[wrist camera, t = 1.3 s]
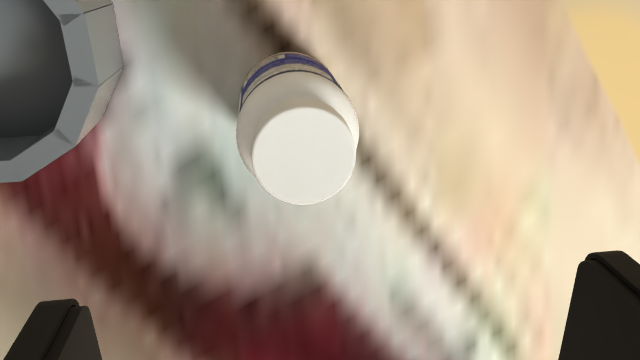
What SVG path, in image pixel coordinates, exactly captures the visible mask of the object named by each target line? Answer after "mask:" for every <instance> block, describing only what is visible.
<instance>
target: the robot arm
mask: <svg viewBox="0 0 640 360" xmlns="http://www.w3.org/2000/svg"><path fill="white" fill-rule="evenodd" d="M4 360H102V357H101V353H100V349H99V345H98V341H97V337H96V333H95V329H94V325H93V321H92V317H91V313H90V310H89V308H88V307H87V306H79V303H78V302H77V300H75V299H64V300H53V301H42V302H40V303H38V304H37V306H36V307H35V309H34V310H33V312H32V314H31V315H30V317H29V318H28V320H27V322H26V323H25V325H24V327H23V328H22V330H21V332H20V333H19V335H18V337H17V338H16V340H15V342H14V343H13V345H12V346H11V348H10V350H9V351H8V353H7V355H6V356H5V358H4ZM558 360H640V264H639V263H637V262H636V261H635V260H634V259H632V258H631V257H630V256H629V255H627V254H626V253H624V252H623V251H606V252H595V253H590V254H588V256H587V257H586V258H585V261H582V262H581V263H580V264H579V266H578V269H577V273H576V278H575V283H574V288H573V292H572V297H571V302H570V307H569V312H568V316H567V321H566V326H565V331H564V336H563V340H562V345H561V350H560V355H559V359H558Z"/></svg>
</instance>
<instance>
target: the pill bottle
mask: <svg viewBox="0 0 640 360" xmlns="http://www.w3.org/2000/svg"><path fill="white" fill-rule="evenodd" d="M236 138H237V145H238V150H239V153H240V156H241V158H242V160H243V162H244V164H245V165H246V167H247V168H248V170H249V171H250V172H251V173H252V174H253V175H254V176H255V177H256V178H257V180H258V182H259V183H260V185H261V186H262V187H263V188H264V189H265V190H266V191H267V192H268V193H269V194H270V195H272V196H273V197H275V198H277V199H279V200H281V201H283V202H286V203H290V204H296V205H309V204H314V203H318V202H321V201H324V200H326V199H328V198H330V197H331V196H333V195H334V194H336V193H337V192H338V191H340V190H341V189H342V187H343V186H344V185H345V184H346V183H347V181H348V180H349V178H350V176H351V174H352V172H353V169H354V166H355V160H356V148H357V145H358V139H359V125H358V119H357V115H356V112H355V109H354V107H353V105H352V103H351V101H350V100H349V98H348V97H347V95H346V94H345V92H344V91H343V90H342V88H341V87H340V85H339V84H338V83H337V81H336V80H335V78H334V77H333V76H332V74H331V73H330V72H329V70H328V69H327V68H326V67H325V66H324V65H323V64H322V63H321V62H319V61H318V60H316V59H315V58H313V57H311V56H308V55H306V54H302V53H297V52H282V53H277V54H274V55H271V56H269V57H267V58H265V59H263V60H262V61H260V62H259V63H258V64H256V65H255V66H254V67H253V68H252V69H251V71H250V72H249V73H248V75H247V76H246V78H245V80H244V82H243V85H242V88H241V92H240V99H239V113H238V121H237V129H236Z"/></svg>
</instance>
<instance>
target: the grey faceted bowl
mask: <svg viewBox="0 0 640 360" xmlns="http://www.w3.org/2000/svg"><path fill="white" fill-rule="evenodd" d="M123 67H124V65H123V59H122V53H121V47H120V41H119V36H118V30H117V24H116V18H115V12H114V7H113V4H112V2H111V0H0V183H4V182H20V181H24V180H25V179H27V178H28V177H30V176H31V175H33V174H34V173H36V172H37V171H39V170H40V169H42V168H43V167H45V166H46V165H48V164H49V163H51V162H52V161H54V160H55V159H57V158H58V157H60V156H61V155H63V154H64V153H66V152H67V151H69V150H70V149H72V148H73V147H75V146H76V145H77V144H78V143H79V142H80V141H81V140H82V139H83V138H84V136H85V135H86V134H87V133H88V132H89V131H90V130H91V129H92V128H93V127H94V126H95V125H96V124H97V123H98V122H99V121H100V120H101V119H102V117H103V116H104V113H105V111H106V108H107V106H108V103H109V101H110V99H111V96H112V94H113V91H114V89H115V86H116V84H117V81H118V79H119V76H120V74H121V72H122V69H123Z"/></svg>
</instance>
